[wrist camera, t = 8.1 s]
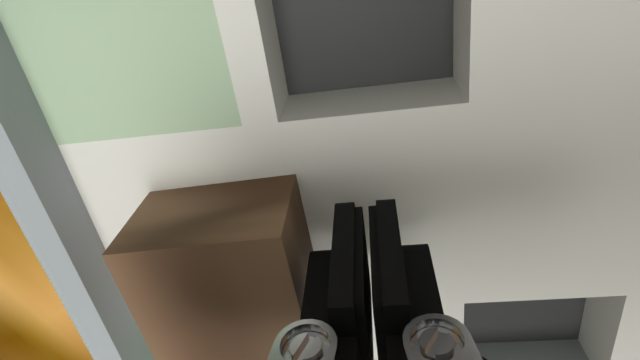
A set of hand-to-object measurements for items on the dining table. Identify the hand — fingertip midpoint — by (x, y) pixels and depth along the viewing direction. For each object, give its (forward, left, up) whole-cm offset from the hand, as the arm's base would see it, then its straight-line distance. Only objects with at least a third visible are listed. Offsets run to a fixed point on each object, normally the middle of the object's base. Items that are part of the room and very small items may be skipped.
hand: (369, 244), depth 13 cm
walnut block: (+4, 0, -1) cm, 4 cm away
